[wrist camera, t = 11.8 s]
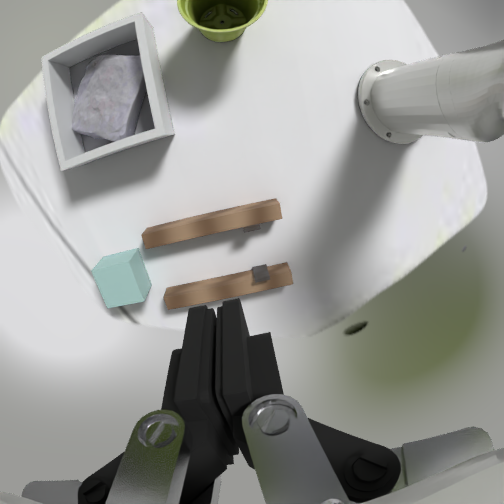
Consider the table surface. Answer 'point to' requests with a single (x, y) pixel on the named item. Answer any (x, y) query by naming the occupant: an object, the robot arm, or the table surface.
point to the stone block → (110, 97)
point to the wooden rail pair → (215, 223)
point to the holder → (63, 99)
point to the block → (122, 278)
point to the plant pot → (221, 16)
